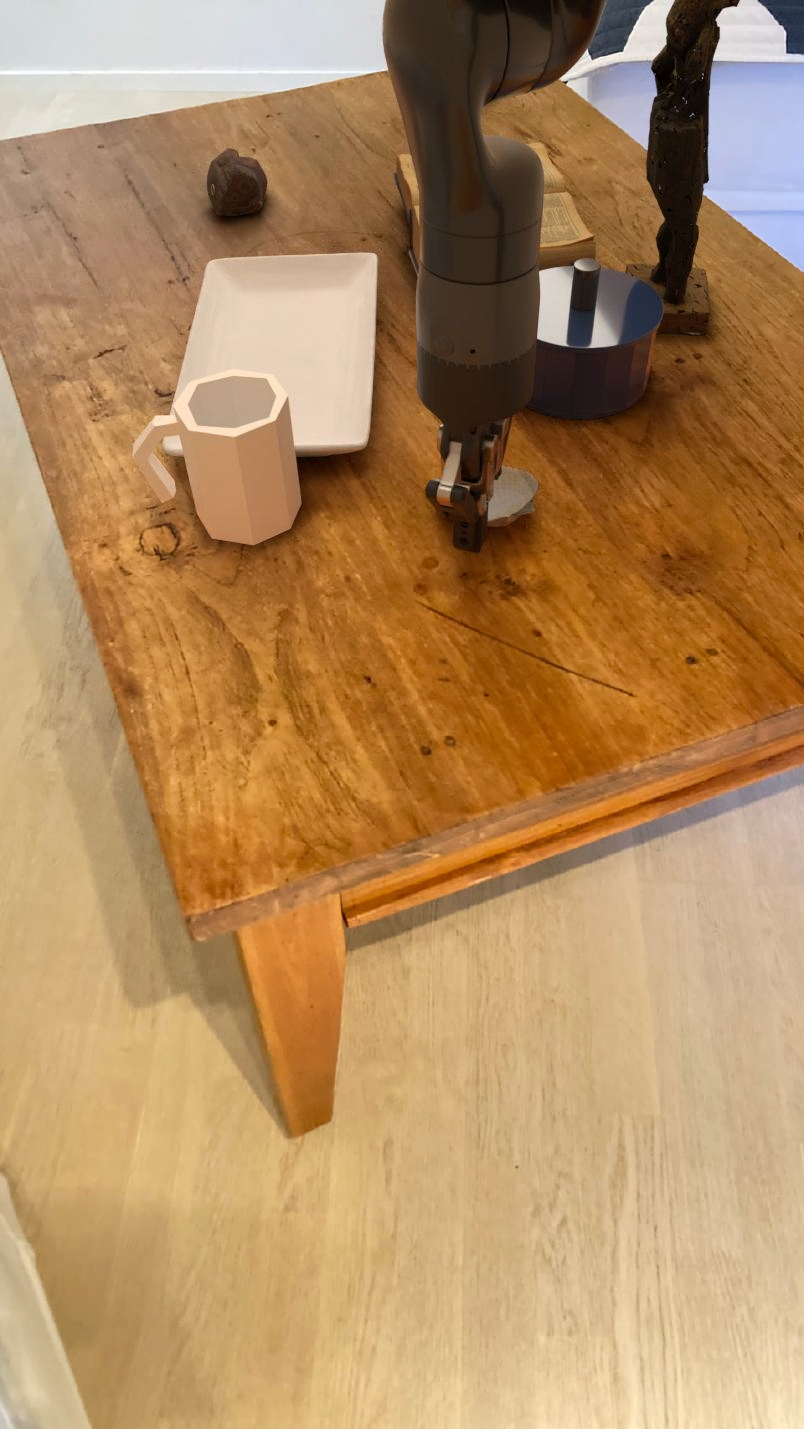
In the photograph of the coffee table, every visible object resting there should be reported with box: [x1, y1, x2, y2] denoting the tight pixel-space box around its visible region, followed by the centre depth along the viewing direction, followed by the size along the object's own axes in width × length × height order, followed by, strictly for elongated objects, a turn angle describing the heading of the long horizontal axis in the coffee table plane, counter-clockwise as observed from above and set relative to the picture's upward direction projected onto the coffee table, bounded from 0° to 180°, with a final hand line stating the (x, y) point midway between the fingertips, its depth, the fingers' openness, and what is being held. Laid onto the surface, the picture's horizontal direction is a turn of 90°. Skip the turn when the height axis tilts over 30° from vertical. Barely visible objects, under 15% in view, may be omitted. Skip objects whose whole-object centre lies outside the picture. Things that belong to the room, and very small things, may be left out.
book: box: [393, 141, 597, 277], centre depth 108 cm, size 25×17×6 cm
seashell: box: [486, 465, 540, 528], centre depth 82 cm, size 8×3×8 cm
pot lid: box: [537, 258, 664, 353], centre depth 88 cm, size 13×13×5 cm
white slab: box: [161, 252, 379, 458], centre depth 94 cm, size 17×31×4 cm, turn 0°
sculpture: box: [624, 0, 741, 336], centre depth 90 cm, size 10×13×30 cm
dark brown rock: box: [206, 147, 268, 217], centre depth 116 cm, size 6×7×10 cm
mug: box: [131, 369, 302, 546], centre depth 80 cm, size 12×9×10 cm
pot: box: [524, 330, 657, 421], centre depth 92 cm, size 13×13×6 cm
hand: (469, 544), depth 78 cm, fingers closed
